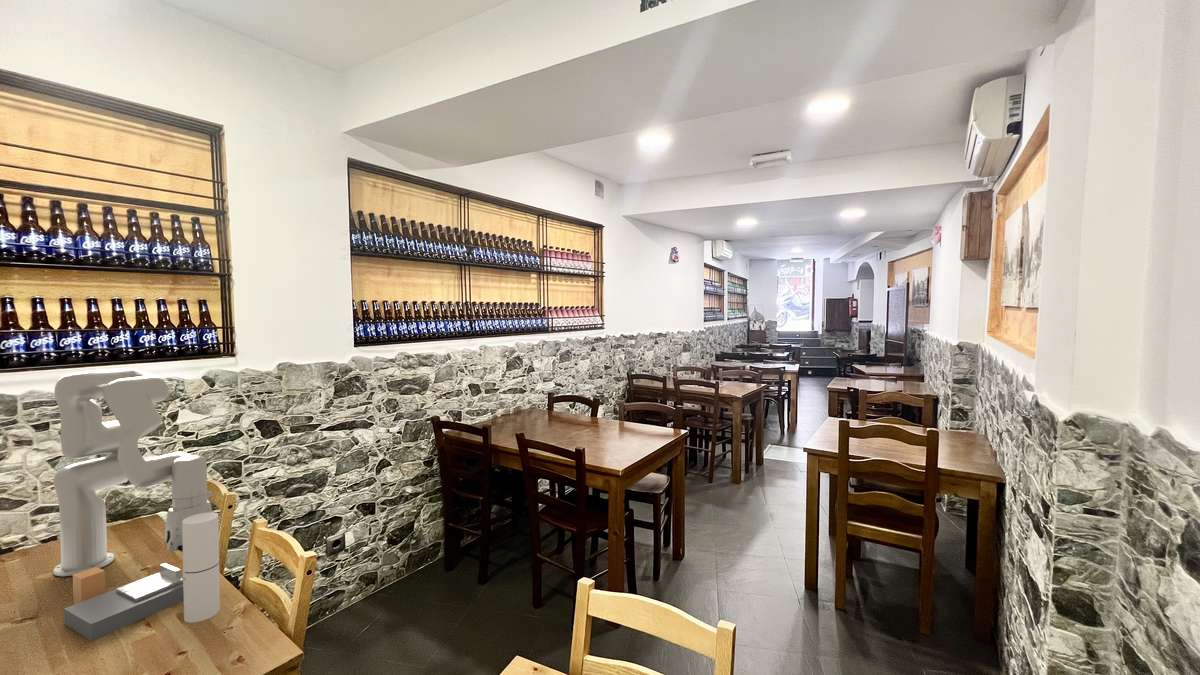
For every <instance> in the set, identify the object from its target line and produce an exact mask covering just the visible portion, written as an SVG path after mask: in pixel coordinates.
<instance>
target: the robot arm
mask: <svg viewBox="0 0 1200 675" xmlns="http://www.w3.org/2000/svg"><path fill="white" fill-rule="evenodd" d="M53 391H54V398H55V401H56V404H57V406H58V409H59V413H60V448H61V452H62V454H63V457H65V458H67V459H71V460H78V459H85V458H90V457H94V456H99V455H103V454H106V456H103V457H97V458H93V459H88V460H85V461H79V462H76V463H72V464H68V465H66V466H64V467H62V468H61V469H59V470H58V471H56V473H55V474H54V477H53V487H54V490H55V494H56V497H57V502H58V509H59V510H58V511H59V532H60V537H59V538H60V561H61V563H59V564H57V565H56V566H55V567H54V568H53V575H54V576H57V577H71V576H72V577H73V575H74V574H77V573H80V572H83V571H86V570H88V569H91V568H94V567H98V568H100V569H102V568H103V567H106V566H108V565H110V564H111V563H112V562H114V560H115V554H114V553H112V552H108V548H107V547H108V545H107V544H108V542H107V540H108V539H107V538H108V537H107V512H106V511H107V507H106V503H105V501H104V500H103V499H102V498H101V497H100V496H98V494H96V492H98V491H101V490H104V489H107V488H110V487H111V488H112V487H113V486H118V485H120V484H124V483H126V482H128V481H129V482H130V484H132V485H133V486H134V487H137V488H141V489H143V488H144V489H145V488H149V487H154V486H156V485H160V484H163V483H166V482H171V497H172V499H171V501H172V505H171V506H172V507H170V508H169V509H168V512H167V515H166V520H165V526H164V543H165V544H167V547H166V551H167V552H170V553H171V552H177V551H179V552H182V553H183V537H182V521H183V520H184V519H185V518H187V517H190V516H192V515H196V514H201V513H208V512H213V509H212V505H211V501H210V500H209V497H210V496H213V492H212V490H209V491H208V478H207V476H208V474H207V473H208V471H207V468H208V467H207V458H206V457H205V456H204V455H199V454H197V455H196V454H194V455H193V454H190V453H188V452H186V451H174V452H171V453H166V454H162V455H158V456H157V455H156V456H154V457H150V458H147V459H146V458H145V459H144V457H143V456H142V454H141V452H140V450H139V446H138V444H139V440H140V439H141V438H143V437H145V436H146V435H148V434H149V433H152V432H153V431H155V430H156V429H158V427H160V426H161V424H162V422H163V417H162V416H161V414H160V413H159V411H158V410H157V408H156V406H155V405H154V404H157V403H160V402H161V403H162V402H163V401H165V400H166V399H167V397H168V396H169V391H170V390H169V385H168V384H167V382H166V381H165V380H164V379H163V378H162V377H160V375H157V374H153V373H151V372H146V371H144V370H139V369H137V368H130V367H129V368H128V367H126V368H111V369H97V370H85V371H77V372H72V373H69V374H66V375H63V376H61V377H60V378H59V379H58V380H57V382H56V384H55V386H54V390H53ZM100 399H104V401H105V403H106V404H107V406H108V408H109V409H110V411H111V412H112V415H113V416H114V418H115V419H116V420H110V421H103V411H102V407H100V405H99V404H98V402H96V401H95V400H100Z"/></svg>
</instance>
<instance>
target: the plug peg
mask: <svg viewBox="0 0 1200 675" xmlns="http://www.w3.org/2000/svg"><path fill="white" fill-rule="evenodd" d="M103 593H106V571H105V570H104V569H102V568H98V567H94V568H91V569H88V570H86V571H83V572H80V573H77V574H74V575H73V576H72V595H73V598H72V599H73V604H72V605H74V604H77V603H80V602H82V601H85V600H88V599H90V598H93V597H96V596H98V595H101V594H103Z"/></svg>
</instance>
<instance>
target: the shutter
mask: <svg viewBox="0 0 1200 675" xmlns="http://www.w3.org/2000/svg"><path fill="white" fill-rule="evenodd" d="M181 578H182V569H180V568H178V567H176V566H174V565H171V564H168V563H166V562H164V563H161V564H159V572H156V573H154V574H150V575H149V576H145V577H143V578H140V579H138V580H136V581H132V582H129V583H128V584H125V585H121V586H120V587H117V588H115V589H116V592H118V593H120V594H122V595H124V596H126V597H128V598H130V599H132V600H134V601H138V600H141V599H143V598H146V597H148V596H151V595H153V594H156V593H158V592H160V591H163V590H165V589H168V588H170V587H173V586H175V585H178V584H180V583H182V582H183V578H182V579H181Z"/></svg>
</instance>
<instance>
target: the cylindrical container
mask: <svg viewBox="0 0 1200 675" xmlns="http://www.w3.org/2000/svg"><path fill="white" fill-rule="evenodd" d="M219 522H220V520H219V513H218V512H214V511H212V512H208V513H201V514H196V515H192V516H190V517H187V518H185V519H184V520H183V521H182V537H183V552H182V571H183V572H182V577H183V578H182V579H183V590H184V601H183V620H184V622H186V623H190V624H192V623H199V622H203V621H206V620H208V619H211V618H213V617H214V616H216V615H217V614H218V613H220V611H221V601H220V600H221V594H220V593H221V591H220V587H221V586H220V584H221V583H220V535H219V534H220V533H219V532H220V531H219V529H220V527H219V525H220V524H219Z"/></svg>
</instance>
